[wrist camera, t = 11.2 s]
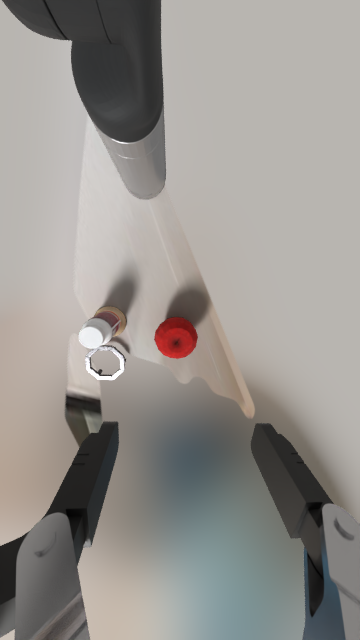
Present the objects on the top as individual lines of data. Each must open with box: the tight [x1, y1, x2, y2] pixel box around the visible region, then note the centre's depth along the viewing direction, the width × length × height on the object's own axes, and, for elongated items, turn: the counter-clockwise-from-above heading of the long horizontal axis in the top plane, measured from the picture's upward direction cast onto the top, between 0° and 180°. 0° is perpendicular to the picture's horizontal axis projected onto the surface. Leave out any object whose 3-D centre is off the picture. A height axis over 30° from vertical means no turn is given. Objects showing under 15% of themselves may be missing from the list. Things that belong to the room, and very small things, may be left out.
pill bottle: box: [79, 310, 121, 349], centre depth 39 cm, size 6×6×11 cm
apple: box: [154, 317, 198, 359], centre depth 41 cm, size 10×10×11 cm
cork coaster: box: [94, 306, 126, 336], centre depth 44 cm, size 8×8×1 cm
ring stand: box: [85, 345, 126, 380], centre depth 46 cm, size 10×10×2 cm
